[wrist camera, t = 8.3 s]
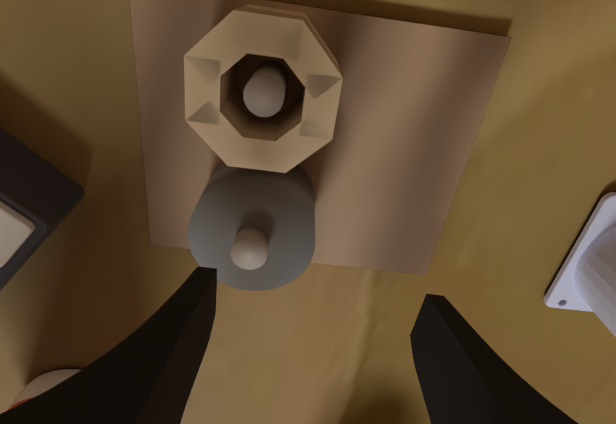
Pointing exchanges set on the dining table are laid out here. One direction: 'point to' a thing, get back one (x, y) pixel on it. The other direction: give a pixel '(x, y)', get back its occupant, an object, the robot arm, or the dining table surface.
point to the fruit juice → (42, 385)
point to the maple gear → (229, 99)
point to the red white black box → (29, 203)
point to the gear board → (324, 162)
